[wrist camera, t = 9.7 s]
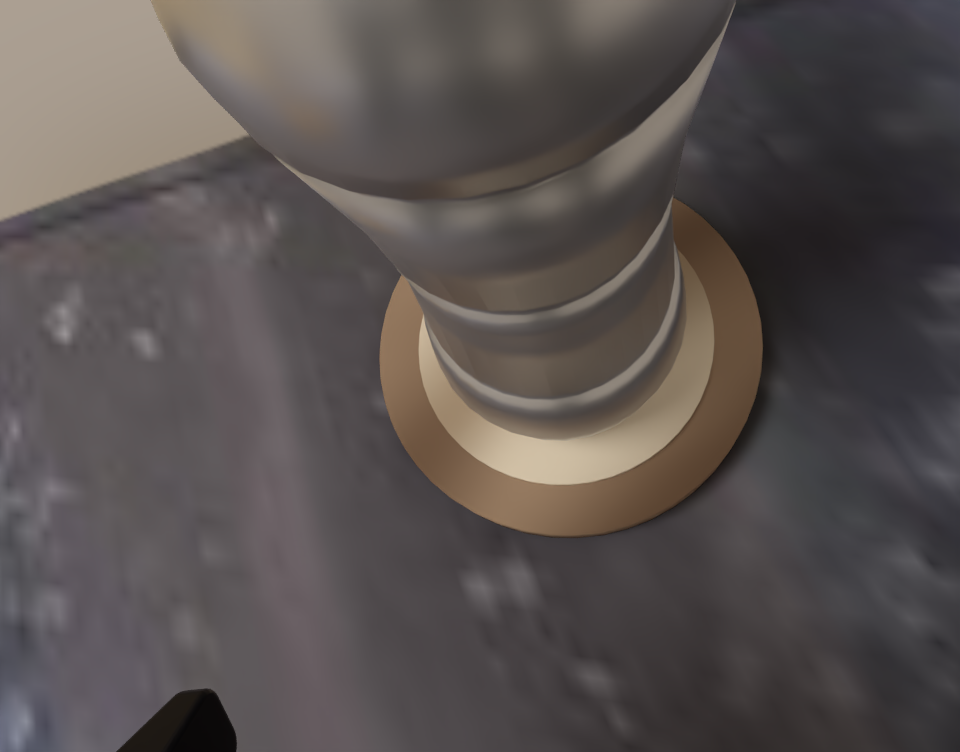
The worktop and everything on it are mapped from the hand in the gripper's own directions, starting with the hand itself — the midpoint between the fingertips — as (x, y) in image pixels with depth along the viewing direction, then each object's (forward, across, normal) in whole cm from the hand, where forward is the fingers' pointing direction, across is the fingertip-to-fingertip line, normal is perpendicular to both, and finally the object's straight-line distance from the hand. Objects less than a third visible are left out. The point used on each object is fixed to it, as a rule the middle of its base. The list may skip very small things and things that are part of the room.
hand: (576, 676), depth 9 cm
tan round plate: (+14, 0, +3) cm, 15 cm away
